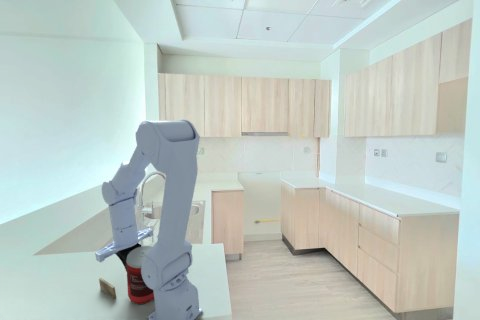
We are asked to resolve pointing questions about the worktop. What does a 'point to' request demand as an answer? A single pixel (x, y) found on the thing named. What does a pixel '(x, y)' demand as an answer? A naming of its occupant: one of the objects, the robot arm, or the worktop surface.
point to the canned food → (138, 276)
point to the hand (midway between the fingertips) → (130, 271)
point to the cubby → (107, 287)
